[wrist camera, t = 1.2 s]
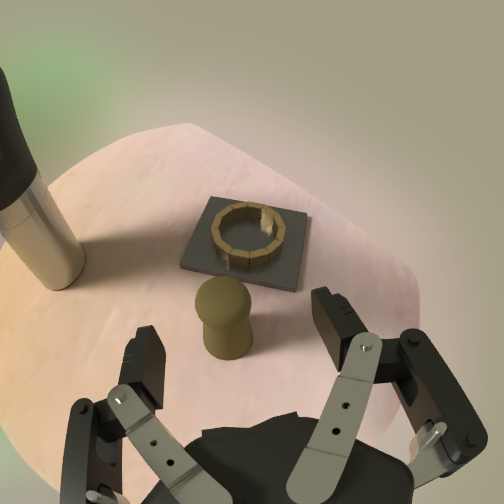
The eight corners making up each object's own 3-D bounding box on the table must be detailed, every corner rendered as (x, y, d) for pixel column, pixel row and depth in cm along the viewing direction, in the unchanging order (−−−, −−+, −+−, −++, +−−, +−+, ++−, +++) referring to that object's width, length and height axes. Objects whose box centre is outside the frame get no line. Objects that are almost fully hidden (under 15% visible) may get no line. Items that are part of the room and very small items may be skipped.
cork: (235, 306, 36) (232, 255, 27) (262, 343, 33) (270, 303, 24) (194, 329, 34) (176, 284, 25) (219, 369, 31) (209, 339, 22)
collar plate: (180, 268, 39) (176, 255, 37) (211, 200, 47) (209, 187, 45) (294, 292, 37) (298, 280, 35) (306, 217, 46) (309, 204, 43)
